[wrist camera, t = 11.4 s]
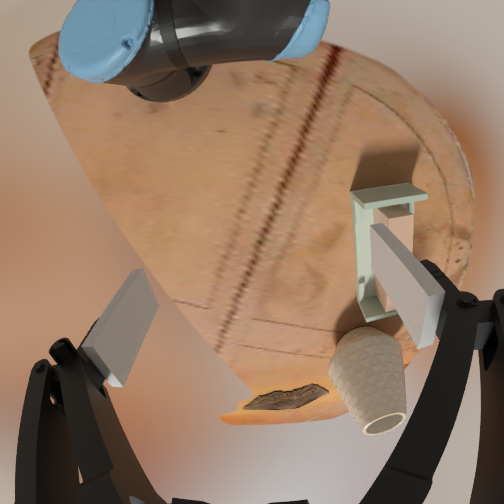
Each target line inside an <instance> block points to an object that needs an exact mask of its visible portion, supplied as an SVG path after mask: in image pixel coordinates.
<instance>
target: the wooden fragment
mask: <svg viewBox="0 0 504 504" xmlns="http://www.w3.org/2000/svg"><path fill="white" fill-rule="evenodd" d="M328 393H329V391H327V390H326V389H325V388H324V387H320V386H318V385H314V384H311V385H308V386H307V387H304V388H301V389H297V390H293V391H290V392H273V393H271V394H268V395H265V396H258V397H256V398H255V399H254V400H253V401H252V402H251V403H250V404H248V405H247V406H244V407H243V410H284V409H295V408H299V407H302V406H304V405H306V404H308V403H310V402H312V401H313V400H316V399H317V398H319V397H321V396H323V395H326V394H328Z"/></svg>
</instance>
